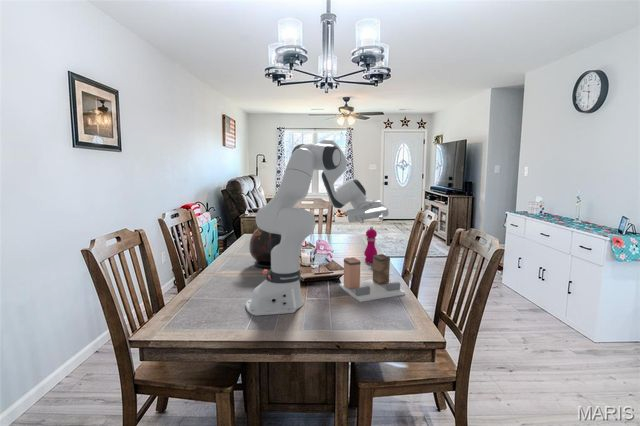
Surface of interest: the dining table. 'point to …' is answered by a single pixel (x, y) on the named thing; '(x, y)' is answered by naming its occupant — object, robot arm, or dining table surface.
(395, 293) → the plate
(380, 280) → the walnut plug
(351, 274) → the terracotta plug
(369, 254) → the pepper mill
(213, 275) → the dining table surface
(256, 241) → the amphora vase
